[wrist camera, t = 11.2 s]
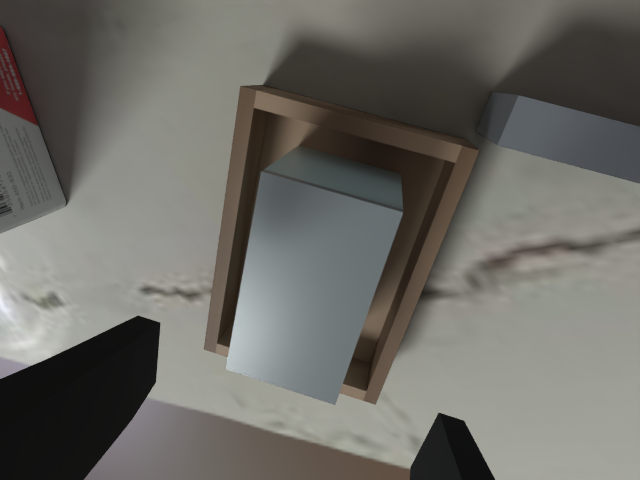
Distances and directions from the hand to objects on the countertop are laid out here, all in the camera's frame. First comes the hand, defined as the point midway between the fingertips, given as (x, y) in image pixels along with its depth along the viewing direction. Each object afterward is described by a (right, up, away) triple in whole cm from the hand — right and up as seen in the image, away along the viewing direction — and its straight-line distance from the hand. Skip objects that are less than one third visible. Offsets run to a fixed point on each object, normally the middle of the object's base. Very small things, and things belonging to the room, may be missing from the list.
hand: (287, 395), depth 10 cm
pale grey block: (+1, +4, +8) cm, 9 cm away
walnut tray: (+1, +4, +9) cm, 9 cm away
